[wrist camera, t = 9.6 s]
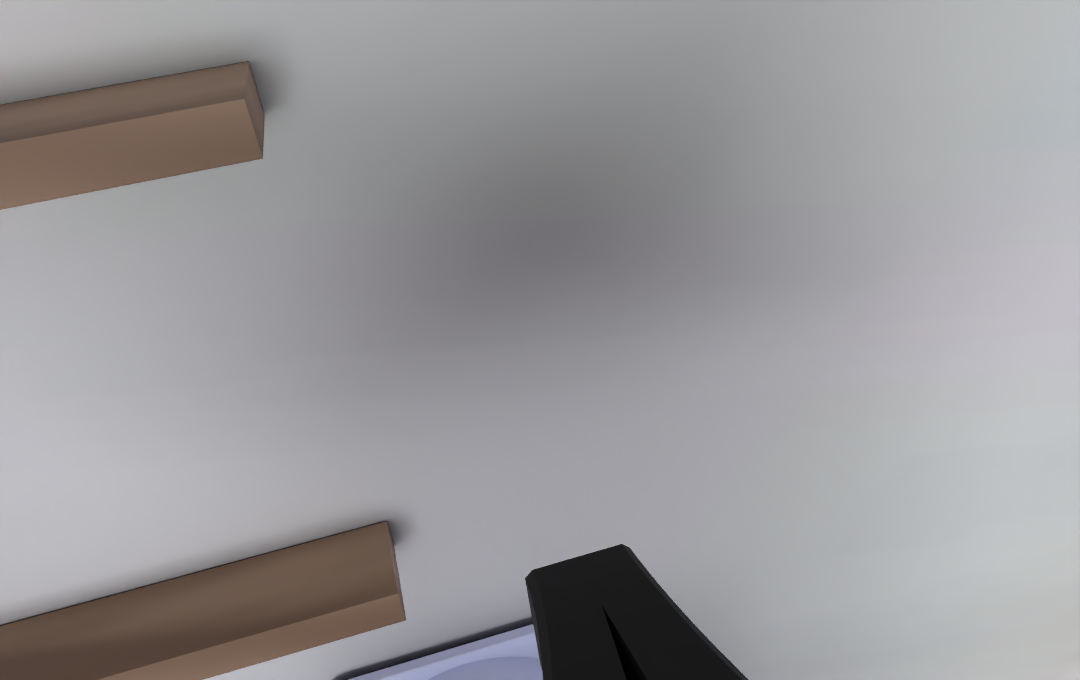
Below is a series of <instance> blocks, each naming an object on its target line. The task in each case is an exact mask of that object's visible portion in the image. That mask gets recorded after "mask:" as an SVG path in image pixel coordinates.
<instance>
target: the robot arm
mask: <svg viewBox="0 0 1080 680" xmlns="http://www.w3.org/2000/svg"><path fill="white" fill-rule="evenodd" d="M525 580H526V586H527V591H528V597H529V603H530V608H531V614H532V620H533V624H531V625H528V626H524V627H521V628H518V629H515V630H511V631H508V632H505V633H501V634H498V635H495V636H491V637H488V638H485V639H481V640H478V641H475V642H471V643H468V644H465V645H461V646H458V647H455V648H451V649H448V650H445V651H441V652H438V653H435V654H431V655H428V656H425V657H421V658H418V659H415V660H411V661H408V662H405V663H401V664H398V665H395V666H391V667H388V668H385V669H382V670H378V671H375V672H372V673H368V674H365V675H362V676H358V677H355V678H352V679H348V680H748V679H747V678H746V677H745V676H744V675H743V674H742V673H741V672H740V671H739V670H738V669H737V668H736V667H735V666H734V665H733V664H732V663H731V662H730V661H729V660H728V659H727V658H726V657H725V656H724V655H723V654H722V653H721V652H720V651H719V650H718V649H717V648H716V647H715V646H714V645H713V644H712V643H711V642H710V641H709V640H708V639H707V637H706V636H705V635H704V634H703V633H702V632H701V631H700V630H699V629H698V628H697V627H696V626H695V625H694V624H693V623H692V621H691V620H690V619H689V618H688V617H687V616H686V615H685V614H684V613H683V612H682V610H681V609H680V608H679V607H678V606H677V605H676V604H675V603H674V602H673V600H672V599H671V598H670V597H669V596H668V595H667V593H666V592H665V591H664V590H663V589H662V588H661V587H660V585H659V584H658V583H657V582H656V581H655V579H654V578H653V577H652V576H651V574H650V573H649V572H648V571H647V569H646V568H645V567H644V566H643V564H642V563H641V562H640V561H639V559H638V558H637V557H636V555H635V554H634V553H633V551H632V550H631V549H630V548H629V547H627V546H625V545H623V544H620V545H617V546H614V547H610V548H607V549H603V550H600V551H596V552H593V553H589V554H586V555H582V556H579V557H576V558H572V559H569V560H565V561H562V562H558V563H555V564H551V565H548V566H544V567H541V568H538V569H534V570H532V571H531V572H530V574H529V575H528V576H527V577H526V578H525Z"/></svg>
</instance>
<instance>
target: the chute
mask: <svg viewBox="0 0 1080 680" xmlns="http://www.w3.org/2000/svg"><path fill="white" fill-rule="evenodd" d="M263 140H264V111H263V108H262V105H261V101H260V98H259V95H258V91H257V88H256V85H255V81H254V78H253V75H252V71H251V68H250V65H249V62H243V63H237V64H232V65H226V66H220V67H214V68H209V69H203V70H197V71H192V72H186V73H180V74H175V75H169V76H163V77H158V78H152V79H146V80H140V81H135V82H129V83H123V84H118V85H112V86H106V87H101V88H95V89H89V90H83V91H78V92H72V93H66V94H61V95H55V96H49V97H44V98H38V99H32V100H27V101H21V102H15V103H9V104H4V105H0V210H1V209H6V208H11V207H16V206H21V205H26V204H32V203H37V202H42V201H47V200H52V199H57V198H62V197H68V196H73V195H78V194H83V193H88V192H93V191H98V190H103V189H109V188H114V187H119V186H124V185H129V184H134V183H139V182H144V181H150V180H155V179H160V178H165V177H170V176H175V175H180V174H186V173H191V172H196V171H201V170H206V169H211V168H216V167H221V166H227V165H232V164H237V163H242V162H247V161H252V160H257V159H263ZM405 620H406V617H405V610H404V604H403V598H402V592H401V586H400V580H399V574H398V568H397V561H396V555H395V549H394V545H393V542H392V538H391V535H390V532H389V528H388V525H387V522H386V521H385V522H382V523H378V524H374V525H371V526H367V527H363V528H360V529H356V530H352V531H349V532H345V533H341V534H337V535H334V536H330V537H326V538H323V539H319V540H315V541H312V542H308V543H304V544H301V545H297V546H293V547H290V548H286V549H282V550H279V551H275V552H271V553H268V554H264V555H260V556H256V557H253V558H249V559H245V560H242V561H238V562H234V563H231V564H227V565H223V566H220V567H216V568H212V569H209V570H205V571H201V572H198V573H194V574H190V575H187V576H183V577H179V578H175V579H172V580H168V581H164V582H161V583H157V584H153V585H150V586H146V587H142V588H139V589H135V590H131V591H128V592H124V593H120V594H117V595H113V596H109V597H106V598H102V599H98V600H94V601H91V602H87V603H83V604H80V605H76V606H72V607H69V608H65V609H61V610H58V611H54V612H50V613H47V614H43V615H39V616H36V617H32V618H28V619H25V620H21V621H17V622H13V623H10V624H6V625H2V626H0V680H203V679H206V678H210V677H213V676H217V675H220V674H224V673H227V672H230V671H234V670H237V669H241V668H244V667H248V666H251V665H254V664H258V663H261V662H265V661H268V660H271V659H275V658H278V657H282V656H285V655H289V654H292V653H295V652H299V651H302V650H306V649H309V648H313V647H316V646H319V645H323V644H326V643H330V642H333V641H336V640H340V639H343V638H347V637H350V636H354V635H357V634H360V633H364V632H367V631H371V630H374V629H378V628H381V627H384V626H388V625H391V624H395V623H398V622H401V621H405Z"/></svg>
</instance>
